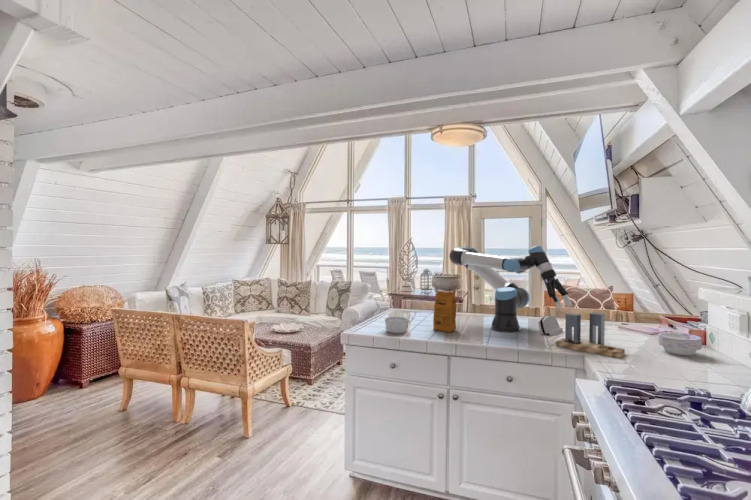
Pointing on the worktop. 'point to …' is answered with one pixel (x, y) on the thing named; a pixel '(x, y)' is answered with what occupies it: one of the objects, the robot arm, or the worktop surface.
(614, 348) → the oak rail
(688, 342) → the paper bowls
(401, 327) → the ramekin
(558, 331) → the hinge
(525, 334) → the worktop surface
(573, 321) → the seated clip
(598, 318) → the steel clip
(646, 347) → the worktop surface
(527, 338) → the worktop surface
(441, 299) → the coffee package
